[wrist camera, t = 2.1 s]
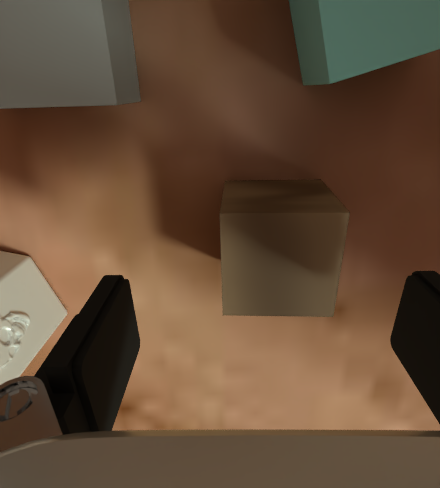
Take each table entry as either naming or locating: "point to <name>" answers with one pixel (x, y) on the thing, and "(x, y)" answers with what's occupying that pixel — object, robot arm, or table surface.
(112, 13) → the grey base block
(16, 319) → the jar
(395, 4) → the teal cube
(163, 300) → the table surface
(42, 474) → the robot arm
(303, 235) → the walnut cube
